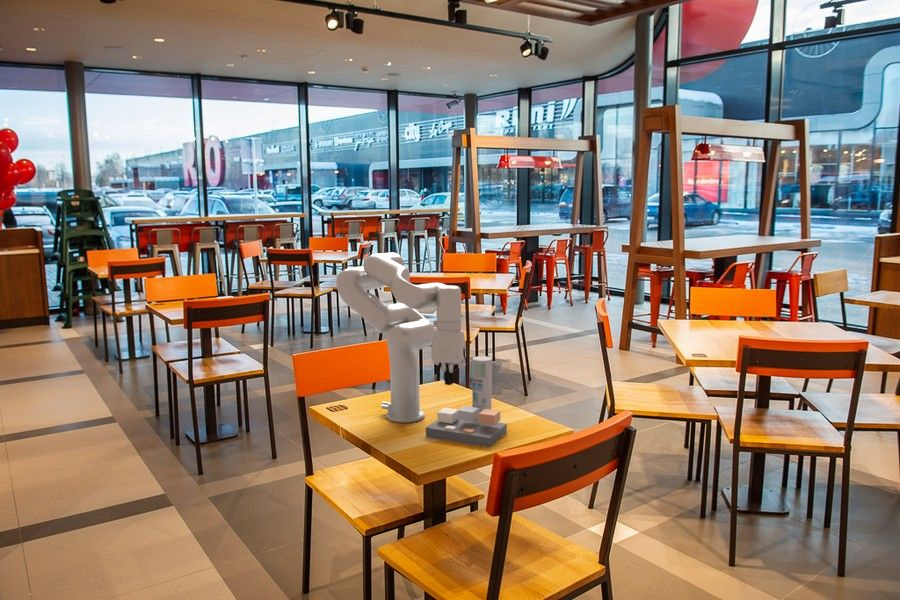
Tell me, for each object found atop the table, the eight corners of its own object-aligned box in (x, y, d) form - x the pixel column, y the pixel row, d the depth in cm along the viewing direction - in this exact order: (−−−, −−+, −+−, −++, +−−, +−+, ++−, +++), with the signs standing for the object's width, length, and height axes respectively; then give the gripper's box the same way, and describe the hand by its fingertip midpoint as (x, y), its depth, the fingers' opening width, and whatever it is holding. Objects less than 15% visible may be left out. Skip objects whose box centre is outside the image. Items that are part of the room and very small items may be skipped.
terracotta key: (478, 422, 209) (478, 413, 208) (485, 418, 213) (485, 408, 213) (494, 425, 207) (494, 415, 206) (500, 420, 211) (500, 410, 211)
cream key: (437, 421, 215) (437, 412, 215) (444, 416, 220) (444, 407, 219) (451, 423, 213) (451, 414, 213) (458, 418, 217) (458, 409, 217)
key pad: (425, 437, 211) (425, 425, 210) (445, 423, 223) (445, 412, 223) (489, 447, 202) (489, 435, 201) (506, 432, 214) (506, 421, 214)
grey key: (457, 419, 212) (457, 410, 211) (464, 415, 216) (464, 405, 216) (472, 421, 210) (472, 412, 209) (479, 417, 214) (479, 407, 214)
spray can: (495, 416, 230) (496, 358, 227) (482, 421, 225) (483, 361, 222) (480, 412, 234) (481, 355, 231) (468, 417, 229) (468, 358, 226)
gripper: (421, 326, 211) (422, 384, 214) (466, 329, 205) (466, 389, 208) (432, 322, 218) (433, 378, 221) (476, 325, 212) (476, 383, 214)
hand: (449, 383), depth 214 cm, fingers closed
